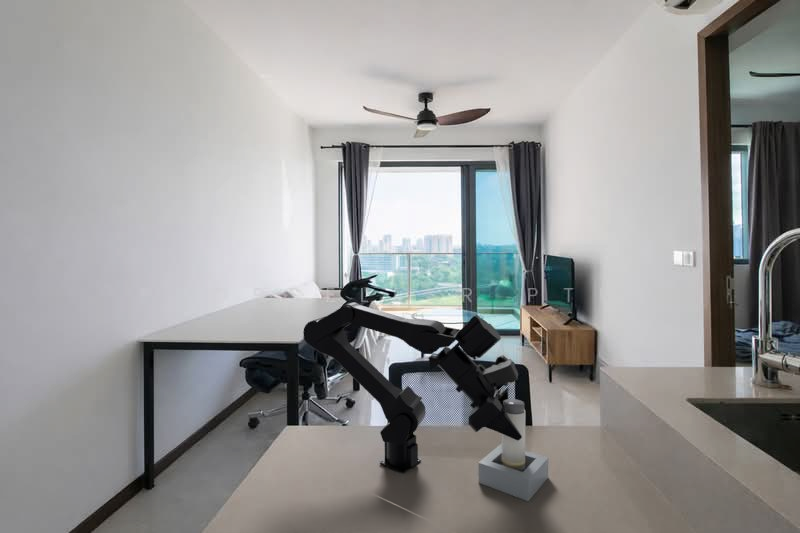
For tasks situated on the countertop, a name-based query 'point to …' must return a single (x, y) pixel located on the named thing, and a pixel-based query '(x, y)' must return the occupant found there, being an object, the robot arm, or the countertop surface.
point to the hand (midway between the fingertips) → (520, 433)
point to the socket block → (514, 474)
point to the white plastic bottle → (510, 447)
